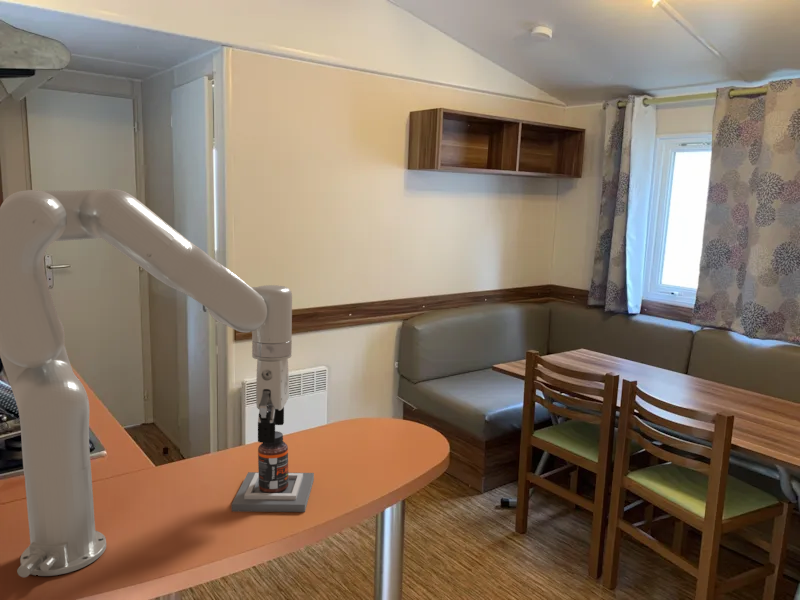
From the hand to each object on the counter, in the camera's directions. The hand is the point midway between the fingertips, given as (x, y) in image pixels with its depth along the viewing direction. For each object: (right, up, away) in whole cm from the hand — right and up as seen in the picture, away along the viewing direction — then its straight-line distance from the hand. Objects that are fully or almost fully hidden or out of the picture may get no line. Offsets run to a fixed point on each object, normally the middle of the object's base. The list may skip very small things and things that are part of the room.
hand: (271, 432), depth 123 cm
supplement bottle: (0, -12, +2) cm, 12 cm away
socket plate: (0, -13, +2) cm, 13 cm away
